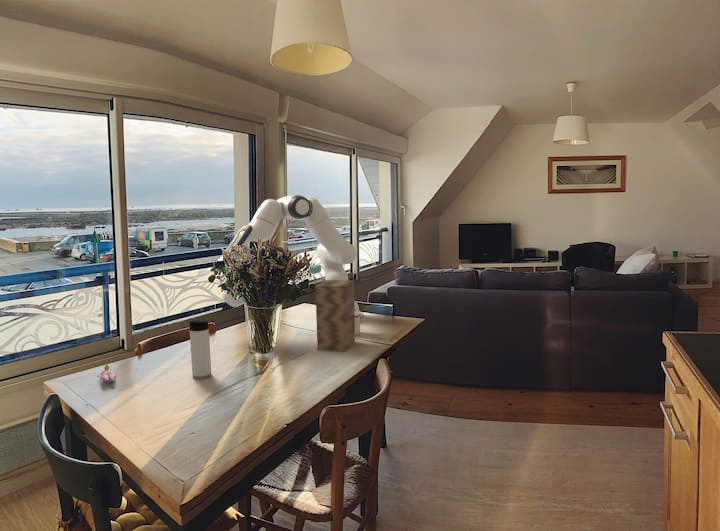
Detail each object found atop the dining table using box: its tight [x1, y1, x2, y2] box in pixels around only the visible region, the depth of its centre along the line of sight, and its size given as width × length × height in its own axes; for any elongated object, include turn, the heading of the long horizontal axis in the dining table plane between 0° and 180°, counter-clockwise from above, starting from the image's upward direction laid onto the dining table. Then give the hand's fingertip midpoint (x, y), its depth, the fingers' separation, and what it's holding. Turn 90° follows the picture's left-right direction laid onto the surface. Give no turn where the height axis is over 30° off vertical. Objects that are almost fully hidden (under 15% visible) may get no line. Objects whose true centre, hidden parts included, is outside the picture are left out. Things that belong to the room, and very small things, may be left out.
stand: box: [315, 279, 356, 352], centre depth 209 cm, size 12×14×26 cm
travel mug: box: [188, 319, 212, 380], centre depth 176 cm, size 6×7×20 cm
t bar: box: [309, 264, 322, 275], centre depth 210 cm, size 18×8×2 cm, turn 77°
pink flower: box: [96, 363, 118, 383], centre depth 174 cm, size 6×6×15 cm
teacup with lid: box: [354, 310, 361, 336], centre depth 228 cm, size 12×9×12 cm
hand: (283, 267), depth 211 cm, fingers closed on t bar, 3 cm apart
